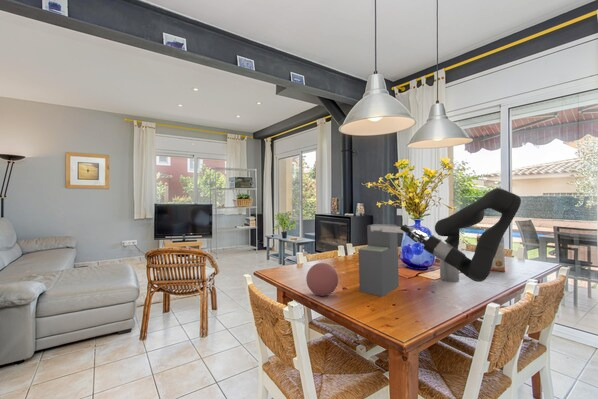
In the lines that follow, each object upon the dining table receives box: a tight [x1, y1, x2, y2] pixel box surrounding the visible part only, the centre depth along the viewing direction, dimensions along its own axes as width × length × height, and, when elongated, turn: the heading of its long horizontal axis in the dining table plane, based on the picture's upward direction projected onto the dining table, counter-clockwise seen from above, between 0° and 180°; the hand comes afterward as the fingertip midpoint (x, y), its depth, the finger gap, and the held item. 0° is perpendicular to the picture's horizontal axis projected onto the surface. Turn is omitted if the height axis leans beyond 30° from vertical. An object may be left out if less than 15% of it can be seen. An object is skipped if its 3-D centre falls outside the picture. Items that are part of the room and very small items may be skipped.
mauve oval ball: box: [305, 262, 339, 297], centre depth 139 cm, size 15×20×15 cm
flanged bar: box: [371, 226, 416, 234], centre depth 134 cm, size 6×21×2 cm, turn 50°
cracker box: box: [476, 234, 506, 273], centre depth 175 cm, size 14×6×21 cm, turn 58°
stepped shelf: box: [357, 223, 400, 298], centre depth 144 cm, size 20×12×32 cm, turn 140°
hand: (402, 226), depth 131 cm, fingers closed on flanged bar, 2 cm apart
